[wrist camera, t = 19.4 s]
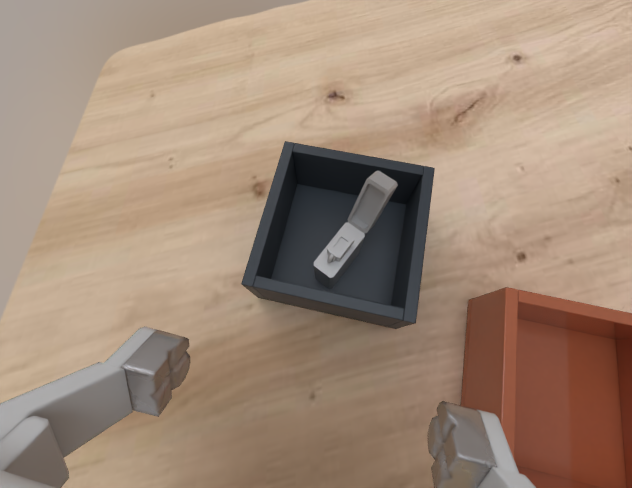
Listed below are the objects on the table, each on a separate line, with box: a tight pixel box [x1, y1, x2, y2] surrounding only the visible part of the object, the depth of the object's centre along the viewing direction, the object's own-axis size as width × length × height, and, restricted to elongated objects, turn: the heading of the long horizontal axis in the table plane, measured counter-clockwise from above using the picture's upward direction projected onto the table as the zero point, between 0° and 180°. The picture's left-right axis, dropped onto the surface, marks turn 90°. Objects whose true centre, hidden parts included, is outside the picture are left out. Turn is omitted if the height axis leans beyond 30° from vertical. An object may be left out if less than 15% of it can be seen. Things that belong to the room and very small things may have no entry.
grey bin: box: [241, 141, 434, 329], centre depth 25 cm, size 12×12×6 cm
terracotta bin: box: [461, 287, 632, 488], centre depth 21 cm, size 12×12×6 cm
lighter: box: [314, 171, 398, 289], centre depth 23 cm, size 7×2×8 cm, turn 142°
